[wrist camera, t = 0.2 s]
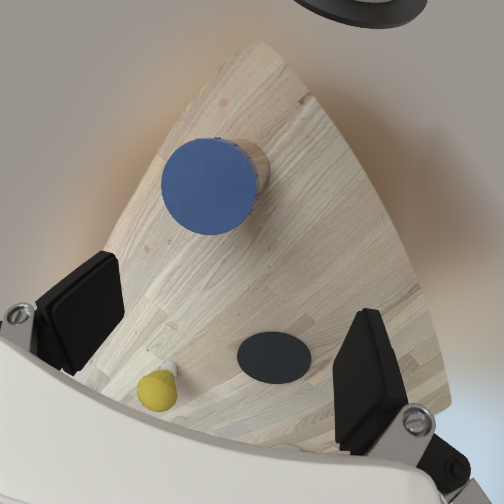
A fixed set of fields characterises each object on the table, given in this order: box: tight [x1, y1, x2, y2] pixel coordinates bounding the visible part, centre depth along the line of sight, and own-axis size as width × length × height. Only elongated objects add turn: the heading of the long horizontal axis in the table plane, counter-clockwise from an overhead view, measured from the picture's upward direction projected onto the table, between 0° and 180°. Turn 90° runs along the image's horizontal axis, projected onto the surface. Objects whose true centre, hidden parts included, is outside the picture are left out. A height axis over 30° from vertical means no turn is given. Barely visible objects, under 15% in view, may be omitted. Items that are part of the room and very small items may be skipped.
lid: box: [161, 137, 259, 235], centre depth 19 cm, size 7×7×2 cm
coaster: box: [237, 332, 311, 384], centre depth 38 cm, size 11×11×1 cm
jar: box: [228, 139, 269, 193], centre depth 23 cm, size 7×7×11 cm
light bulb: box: [137, 360, 178, 412], centre depth 39 cm, size 7×7×10 cm
